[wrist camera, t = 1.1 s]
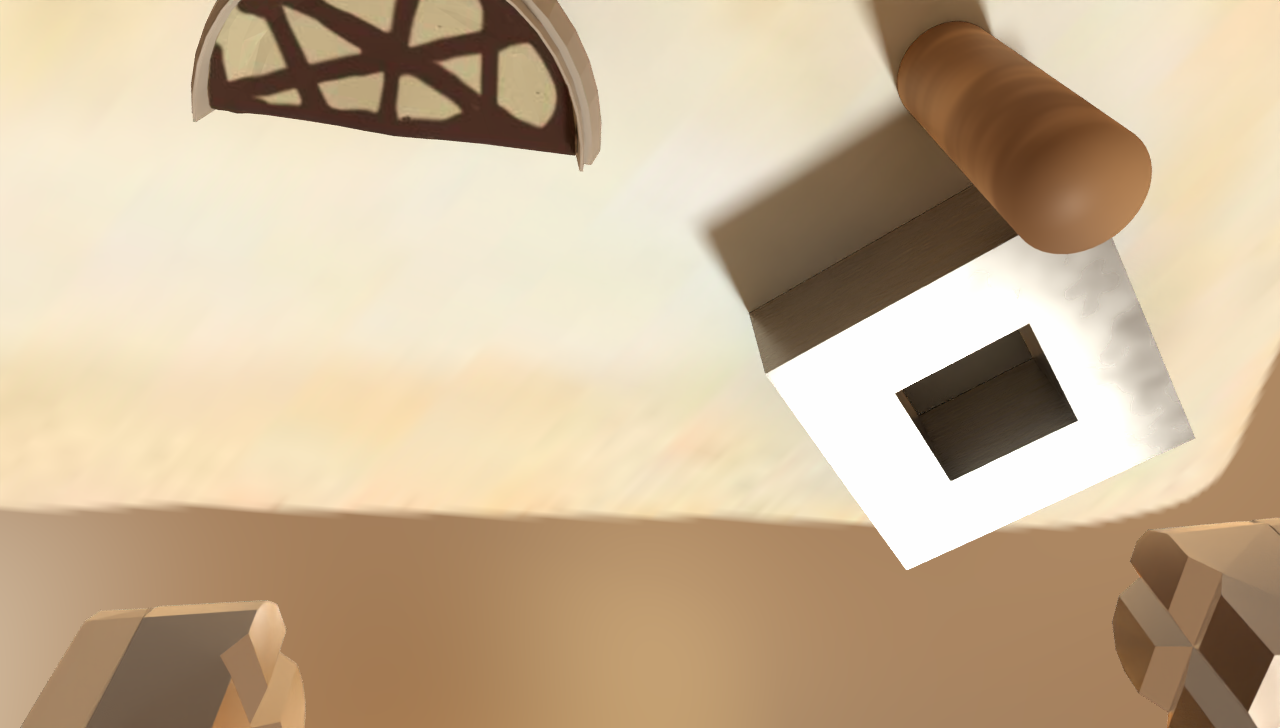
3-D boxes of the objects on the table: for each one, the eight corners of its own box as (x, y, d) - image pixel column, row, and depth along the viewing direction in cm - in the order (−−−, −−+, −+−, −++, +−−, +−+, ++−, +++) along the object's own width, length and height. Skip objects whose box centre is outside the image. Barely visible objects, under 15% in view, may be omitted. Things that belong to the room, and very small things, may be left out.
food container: (622, -93, 33) (629, -44, 24) (600, 78, 36) (600, 174, 28) (265, -151, 31) (142, -120, 23) (276, 33, 35) (173, 119, 26)
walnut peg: (975, -1, 35) (1127, 94, 25) (1013, 87, 37) (1169, 207, 27) (880, 60, 36) (989, 174, 26) (922, 141, 38) (1038, 277, 28)
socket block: (1039, 146, 38) (1093, 193, 34) (1139, 375, 45) (1195, 438, 41) (749, 313, 42) (765, 373, 38) (880, 500, 49) (906, 569, 44)
